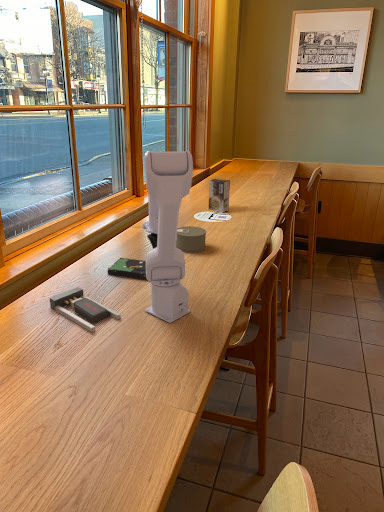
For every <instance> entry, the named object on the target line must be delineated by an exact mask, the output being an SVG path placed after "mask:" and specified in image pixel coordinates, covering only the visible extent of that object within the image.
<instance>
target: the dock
mask: <svg viewBox="0 0 384 512" xmlns="http://www.w3.org/2000/svg"><path fill="white" fill-rule="evenodd" d="M48 298H49V306H50V309H53V310H54V311H55V312H56V313H59V314H61V315H63V316H64V317H65V318H67V319H69V320H70V321H72V322H74V323H76V324H77V325H78V326H80V327H82V328H84V329H85V330H87V331H88V332H91V333H93V332H95V331H96V326H95V325H94V324H92V323H91V322H89V321H87V320H86V319H84V318H81V317H80V316H79V315H78V316H77V314H74V313H73V312H71V311H69V310H68V309H66V307H68V306H71V301H73V300H76V299H78V298H87V299H90V300H92V301H93V302H95V303H97V304H98V305H100V306H102V307H103V308H105V309H107V310H108V311H109V312H110V317H112V318H113V319H116V320H120V319H121V318H122V317H121V316H122V315H121V313H119V312H117V311H115V310H114V309H111V308H109V307H107V306H105V305H104V304H102V303H101V302H98V301H96V300H95V299H92V298H90V297H89V296H86V295H85V294H84V289H83V288H81V287H79V286H77V287H74V288H71V289H69V290H66V291H64V292H61V293H58V294H55V295H53V296H51V297H48Z"/></svg>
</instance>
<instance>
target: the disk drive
mask: <svg viewBox="0 0 384 512" xmlns="http://www.w3.org/2000/svg"><path fill="white" fill-rule="evenodd" d="M107 276H115V277H121V278H128V279H129V278H130V279H134V280H135V279H137V280H143V281H148V280H147V278H146V260H143V259H134V258H133V259H132V258H125V257H120V258H119V259H117V260H116V261H115V262H114V263H113V264H112V265H111V266H109V267H108V268H107Z"/></svg>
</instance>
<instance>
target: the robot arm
mask: <svg viewBox="0 0 384 512" xmlns="http://www.w3.org/2000/svg"><path fill="white" fill-rule="evenodd" d="M193 161H194V160H193V155H192V153H191V152H190V150H185V151H150V150H147V151H146V152H145V153H144V176H145V181H146V182H145V184H146V185H145V186H146V191H147V194H148V198H147V199H148V201H147V202H148V203H147V204H148V221H143V222H142V223H141V224H142V230H145V232H146V233H147V239H148V241H149V242H150V245H151V247H152V249H151V250H149V251H148V252H147V254H146V255H145V261H146V278H147V280H146V281H147V282H150V285H151V306H149V307H147V308H145V309H144V311H145V312H146V313H149V314H150V315H152V316H154V317H157V318H159V319H161V320H163V321H165V322H167V323H169V324H171V323H173V322H175V321H177V320H178V319H180V318H182V317H184V316H185V315H187V314H189V313H190V312H191V310H190V309H189V291H188V289H187V288H186V286H184V285H182V284H181V281H182V280H184V278H185V276H186V259H185V254H184V252H182V250H180V249H178V248H176V240H177V229H178V225H179V215H180V208H181V203H182V200H183V199H184V198H185V197H187V196H188V195H189V194H190V193H191V191H190V190H191V188H192V183H193V174H194V173H193V172H194V171H193V170H194V163H193ZM148 233H149V234H148Z"/></svg>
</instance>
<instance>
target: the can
mask: <svg viewBox="0 0 384 512" xmlns="http://www.w3.org/2000/svg"><path fill="white" fill-rule="evenodd" d="M206 235H207V231H206V229H205V228H202V227H199V226H181V227H177V240H176V248H178V249H180V250H182V252H183V254H184V253H185V254H186V253H187V254H197V253H201V252H203V251H205V250H206V240H207V239H206V238H207V237H206Z"/></svg>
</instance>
